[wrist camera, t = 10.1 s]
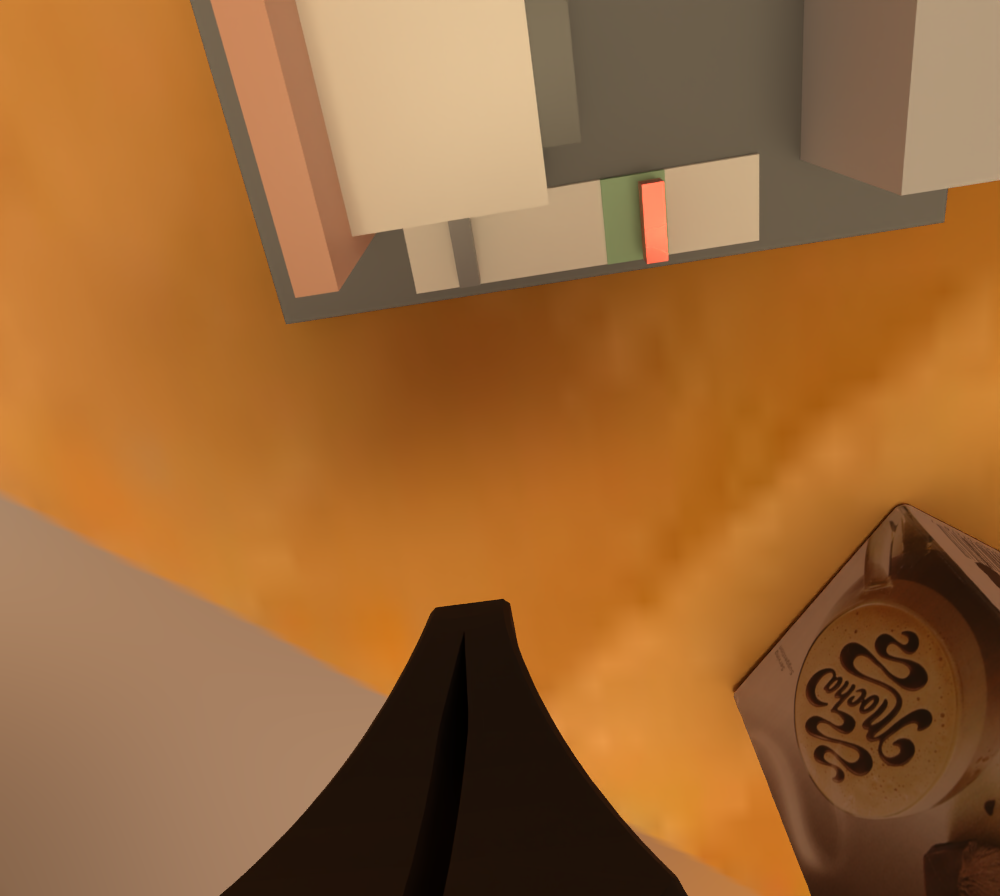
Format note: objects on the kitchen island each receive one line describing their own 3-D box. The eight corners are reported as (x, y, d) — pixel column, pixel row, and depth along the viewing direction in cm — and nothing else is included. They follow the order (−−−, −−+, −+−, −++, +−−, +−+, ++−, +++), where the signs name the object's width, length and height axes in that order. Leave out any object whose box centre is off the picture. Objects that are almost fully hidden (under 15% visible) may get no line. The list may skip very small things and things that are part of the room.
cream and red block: (545, -111, 15) (567, -181, 11) (583, 261, 19) (613, 330, 14) (272, -59, 16) (180, -105, 11) (360, 296, 19) (317, 374, 14)
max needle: (659, 177, 18) (664, 181, 17) (664, 255, 18) (668, 260, 18) (637, 181, 18) (641, 184, 17) (643, 258, 18) (646, 264, 18)
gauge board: (974, -306, 15) (1240, -504, 10) (923, 214, 20) (1084, 275, 14) (163, -145, 16) (-3, -244, 11) (295, 312, 21) (225, 403, 15)
